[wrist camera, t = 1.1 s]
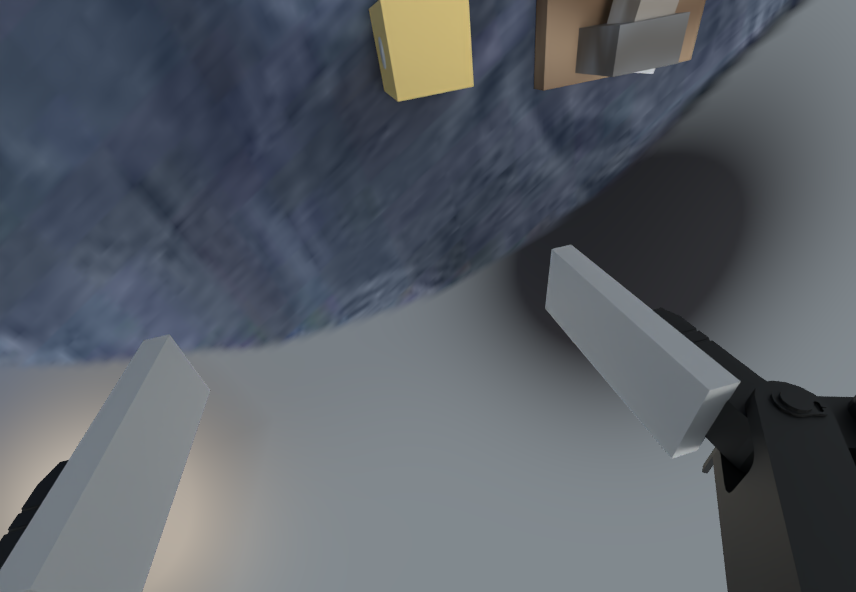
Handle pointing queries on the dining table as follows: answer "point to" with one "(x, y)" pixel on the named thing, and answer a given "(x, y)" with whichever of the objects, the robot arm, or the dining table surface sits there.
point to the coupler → (422, 46)
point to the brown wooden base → (611, 38)
